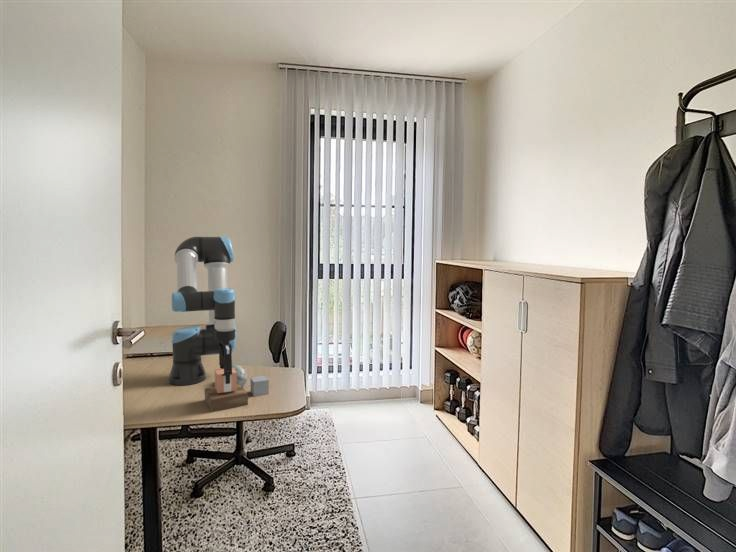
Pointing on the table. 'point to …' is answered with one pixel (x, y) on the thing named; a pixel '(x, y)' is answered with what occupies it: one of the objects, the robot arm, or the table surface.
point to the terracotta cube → (219, 380)
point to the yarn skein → (240, 374)
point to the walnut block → (225, 399)
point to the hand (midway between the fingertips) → (225, 388)
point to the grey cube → (259, 385)
